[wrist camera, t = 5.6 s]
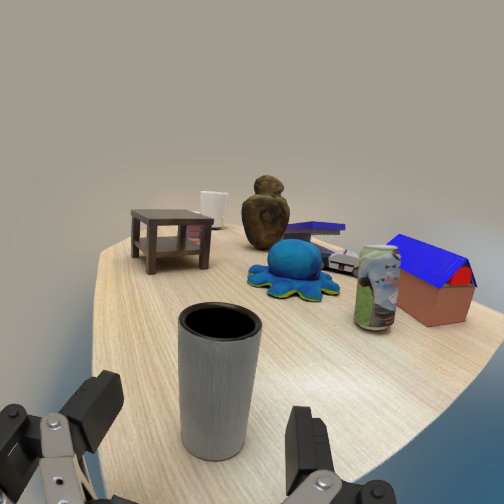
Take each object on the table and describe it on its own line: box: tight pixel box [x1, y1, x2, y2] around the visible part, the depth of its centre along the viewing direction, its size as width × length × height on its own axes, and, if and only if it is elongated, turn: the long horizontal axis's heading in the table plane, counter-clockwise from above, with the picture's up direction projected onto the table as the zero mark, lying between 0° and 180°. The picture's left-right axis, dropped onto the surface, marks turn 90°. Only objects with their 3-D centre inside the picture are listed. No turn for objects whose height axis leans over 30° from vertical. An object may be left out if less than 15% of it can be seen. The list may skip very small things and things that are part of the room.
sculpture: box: [242, 175, 290, 249], centre depth 77 cm, size 13×8×20 cm, turn 102°
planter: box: [178, 302, 262, 461], centre depth 16 cm, size 4×4×10 cm
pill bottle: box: [186, 211, 202, 244], centre depth 76 cm, size 5×5×8 cm
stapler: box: [280, 221, 345, 254], centre depth 86 cm, size 12×28×10 cm, turn 21°
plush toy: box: [247, 239, 340, 302], centre depth 53 cm, size 17×17×8 cm
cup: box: [201, 191, 229, 230], centre depth 102 cm, size 10×10×13 cm
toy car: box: [321, 250, 359, 278], centre depth 66 cm, size 5×16×5 cm, turn 66°
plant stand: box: [131, 209, 214, 275], centre depth 57 cm, size 13×13×10 cm
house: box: [386, 234, 477, 327], centre depth 48 cm, size 12×20×12 cm, turn 10°
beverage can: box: [354, 244, 401, 330], centre depth 38 cm, size 6×7×12 cm
